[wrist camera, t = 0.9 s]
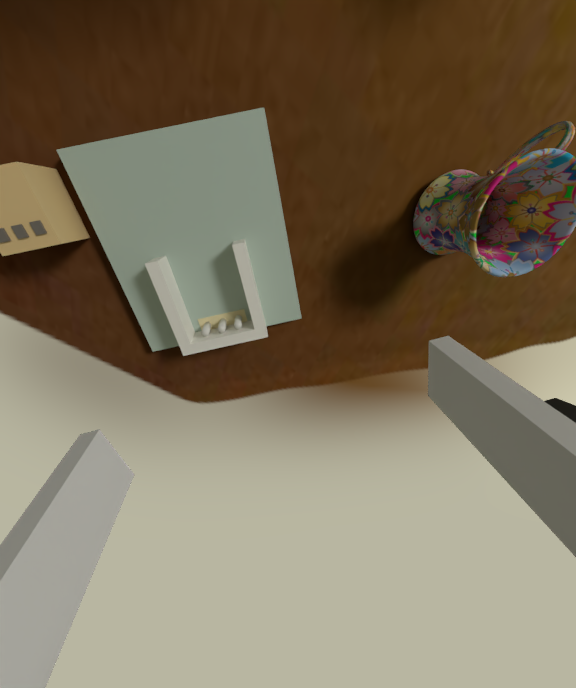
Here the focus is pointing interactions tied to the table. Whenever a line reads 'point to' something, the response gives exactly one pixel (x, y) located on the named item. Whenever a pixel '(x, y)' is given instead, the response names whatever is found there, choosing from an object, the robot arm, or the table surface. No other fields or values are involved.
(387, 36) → the table surface
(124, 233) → the board
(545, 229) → the mug
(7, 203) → the plug
